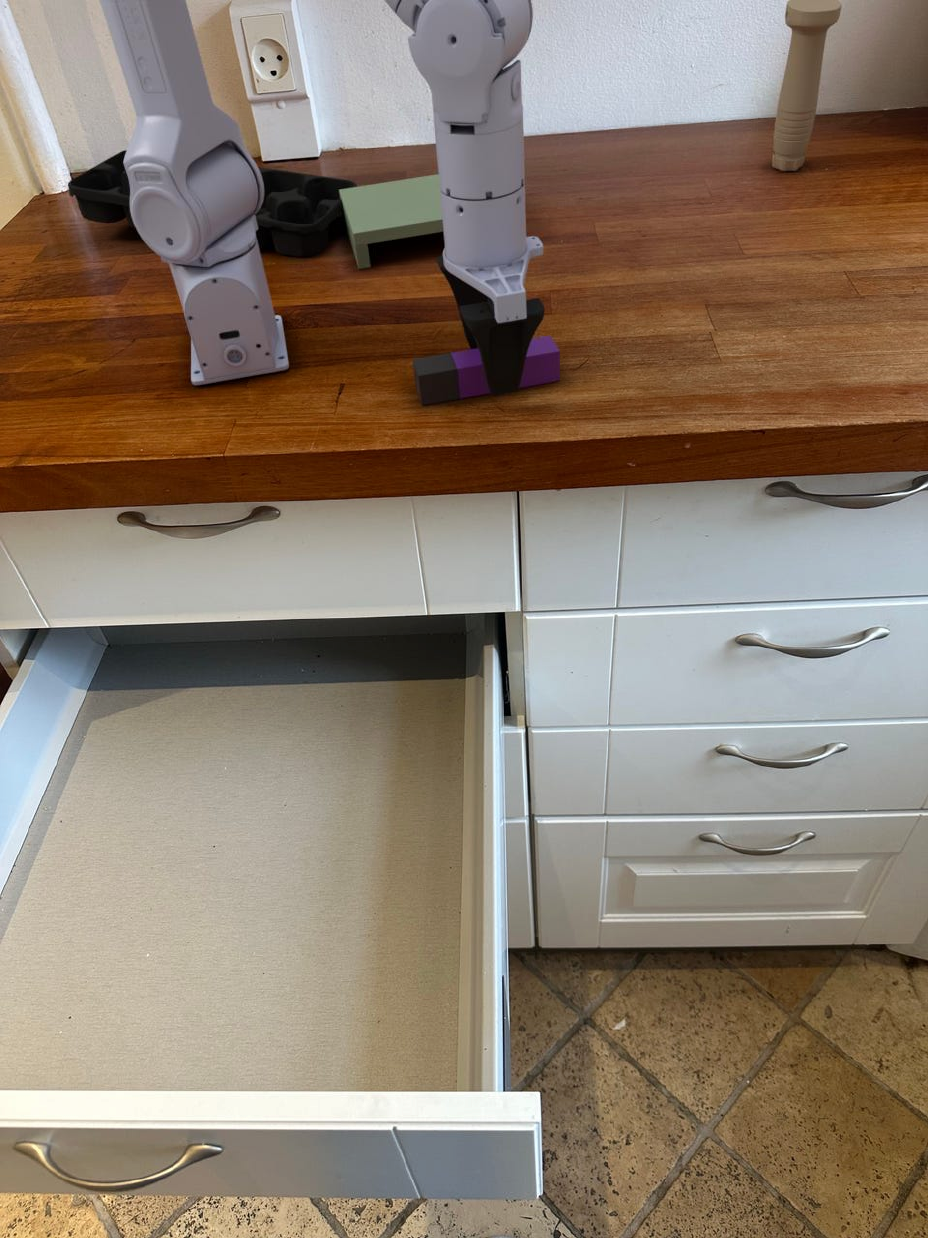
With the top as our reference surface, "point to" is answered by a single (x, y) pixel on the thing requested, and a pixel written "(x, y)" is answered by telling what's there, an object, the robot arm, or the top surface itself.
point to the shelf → (391, 212)
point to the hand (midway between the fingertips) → (492, 367)
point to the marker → (479, 372)
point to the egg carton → (286, 217)
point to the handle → (801, 79)
